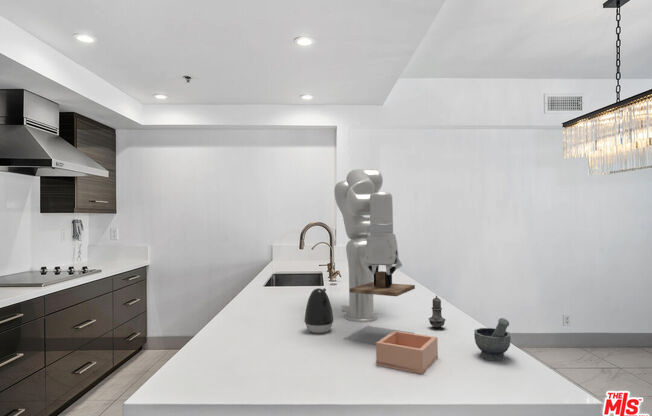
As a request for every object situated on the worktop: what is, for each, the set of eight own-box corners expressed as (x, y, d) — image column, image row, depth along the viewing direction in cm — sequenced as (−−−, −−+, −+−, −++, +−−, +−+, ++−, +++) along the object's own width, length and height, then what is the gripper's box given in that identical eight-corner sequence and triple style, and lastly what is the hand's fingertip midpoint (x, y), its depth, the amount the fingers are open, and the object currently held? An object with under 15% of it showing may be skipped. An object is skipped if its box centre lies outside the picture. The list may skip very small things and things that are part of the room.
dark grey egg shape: (338, 329, 143) (337, 286, 143) (326, 337, 133) (325, 292, 133) (312, 326, 147) (312, 285, 147) (299, 334, 137) (298, 289, 138)
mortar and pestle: (467, 352, 117) (466, 311, 117) (494, 349, 119) (494, 309, 119) (493, 366, 106) (492, 321, 106) (522, 362, 108) (521, 318, 108)
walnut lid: (349, 292, 127) (349, 273, 127) (371, 285, 141) (370, 268, 141) (396, 296, 119) (396, 276, 119) (414, 288, 132) (414, 270, 133)
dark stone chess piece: (446, 332, 138) (445, 297, 138) (429, 331, 139) (428, 296, 139) (445, 327, 143) (444, 293, 144) (428, 326, 144) (427, 293, 145)
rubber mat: (343, 339, 130) (343, 338, 130) (367, 326, 146) (367, 325, 146) (394, 349, 121) (394, 348, 121) (415, 333, 136) (414, 332, 136)
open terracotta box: (376, 364, 108) (376, 342, 108) (394, 350, 119) (394, 330, 119) (423, 374, 101) (422, 350, 101) (437, 358, 112) (437, 337, 112)
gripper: (354, 230, 132) (355, 286, 131) (401, 230, 123) (402, 289, 122) (364, 230, 138) (365, 283, 137) (409, 229, 129) (410, 286, 129)
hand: (382, 285), depth 130 cm, fingers closed on walnut lid, 3 cm apart
